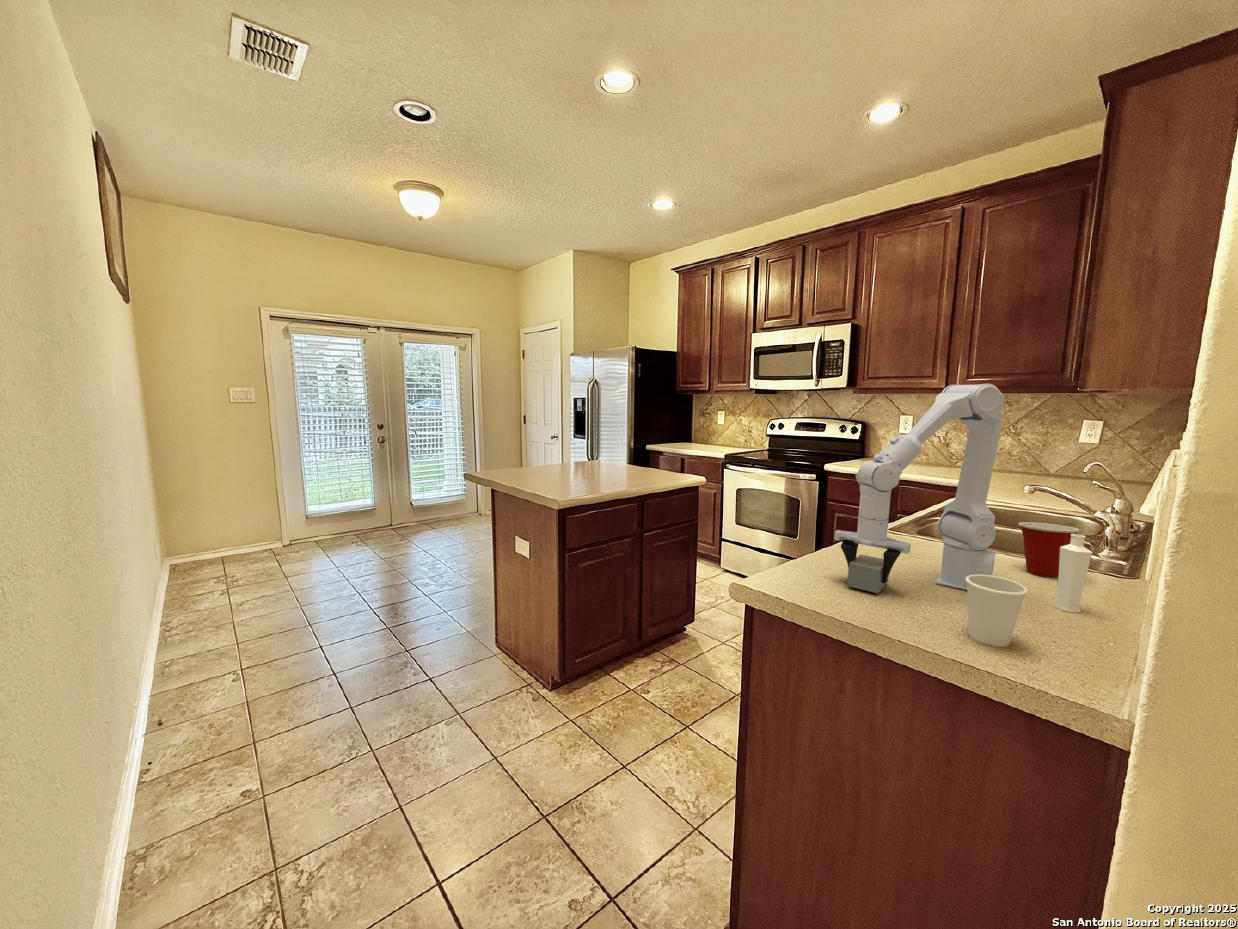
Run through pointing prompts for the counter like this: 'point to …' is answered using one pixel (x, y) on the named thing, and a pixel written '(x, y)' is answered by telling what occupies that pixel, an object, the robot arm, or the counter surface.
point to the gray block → (866, 573)
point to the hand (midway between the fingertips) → (867, 578)
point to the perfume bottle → (1072, 573)
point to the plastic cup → (1044, 546)
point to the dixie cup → (993, 608)
